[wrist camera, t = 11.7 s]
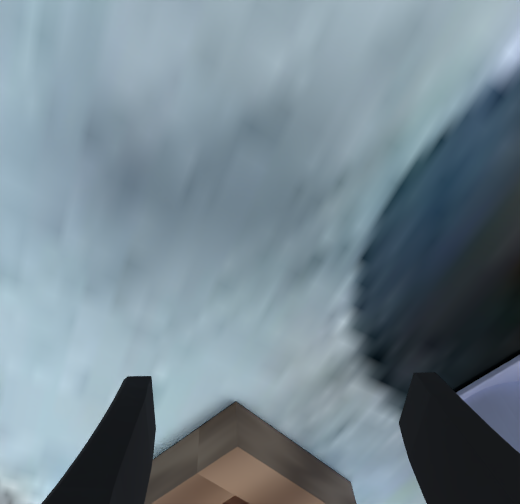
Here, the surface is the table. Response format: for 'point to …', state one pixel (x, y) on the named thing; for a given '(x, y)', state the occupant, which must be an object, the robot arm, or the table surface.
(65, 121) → the table surface
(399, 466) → the table surface
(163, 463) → the socket block
